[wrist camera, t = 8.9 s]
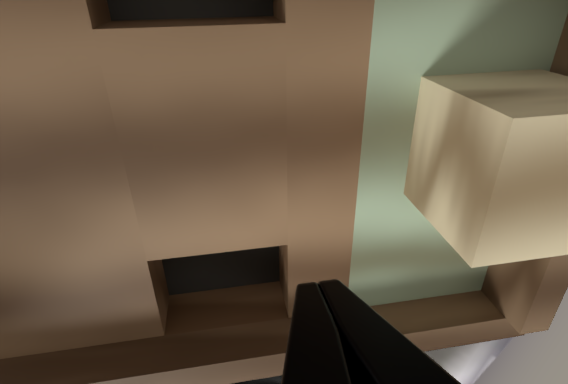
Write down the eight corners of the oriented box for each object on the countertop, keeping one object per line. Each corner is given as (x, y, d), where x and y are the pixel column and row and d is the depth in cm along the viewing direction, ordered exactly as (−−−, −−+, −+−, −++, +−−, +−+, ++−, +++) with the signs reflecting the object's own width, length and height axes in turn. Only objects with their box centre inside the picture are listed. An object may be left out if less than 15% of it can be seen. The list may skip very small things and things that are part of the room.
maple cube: (507, 182, 18) (605, 249, 13) (403, 193, 17) (471, 268, 12) (541, 69, 15) (675, 105, 11) (421, 76, 14) (513, 118, 10)
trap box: (467, 271, 24) (538, 351, 19) (19, 332, 21) (-45, 451, 15) (594, -175, 14) (819, -263, 9) (-252, -216, 10) (-714, -412, 5)
